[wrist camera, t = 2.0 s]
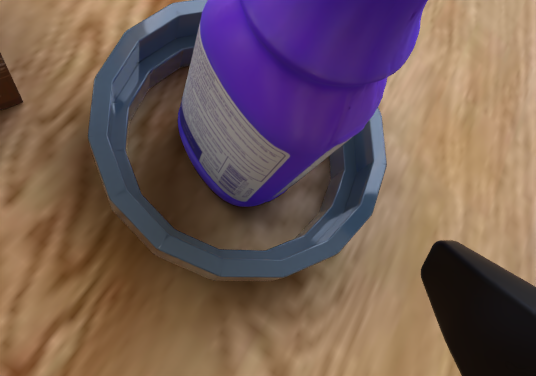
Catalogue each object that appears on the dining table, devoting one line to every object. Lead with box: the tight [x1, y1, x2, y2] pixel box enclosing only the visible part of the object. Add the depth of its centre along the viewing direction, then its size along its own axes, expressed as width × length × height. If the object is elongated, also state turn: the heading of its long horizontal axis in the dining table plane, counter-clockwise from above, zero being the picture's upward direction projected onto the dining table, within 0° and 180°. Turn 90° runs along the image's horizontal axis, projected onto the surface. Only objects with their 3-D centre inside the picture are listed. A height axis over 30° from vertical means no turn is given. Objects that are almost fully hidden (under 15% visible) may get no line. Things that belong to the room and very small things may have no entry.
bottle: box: [178, 0, 428, 207], centre depth 16 cm, size 7×6×17 cm
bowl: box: [88, 0, 387, 281], centre depth 23 cm, size 15×15×4 cm
